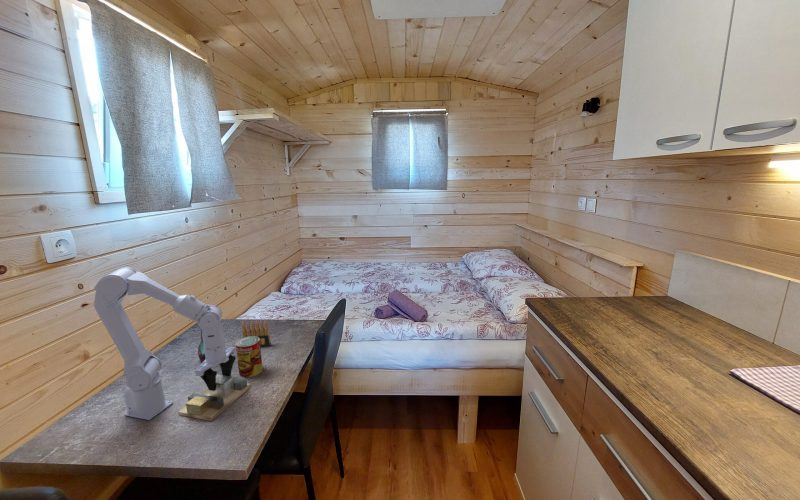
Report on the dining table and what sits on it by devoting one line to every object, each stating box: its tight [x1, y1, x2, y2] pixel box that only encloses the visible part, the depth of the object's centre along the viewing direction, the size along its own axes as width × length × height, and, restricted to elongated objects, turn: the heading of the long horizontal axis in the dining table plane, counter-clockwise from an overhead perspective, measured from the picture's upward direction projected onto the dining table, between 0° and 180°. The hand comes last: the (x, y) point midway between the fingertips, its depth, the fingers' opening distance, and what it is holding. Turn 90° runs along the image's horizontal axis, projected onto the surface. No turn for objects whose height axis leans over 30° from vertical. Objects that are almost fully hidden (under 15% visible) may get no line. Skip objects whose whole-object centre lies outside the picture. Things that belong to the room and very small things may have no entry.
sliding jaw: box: [185, 393, 224, 416], centre depth 100 cm, size 11×6×3 cm, turn 76°
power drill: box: [197, 328, 206, 364], centre depth 128 cm, size 7×16×20 cm, turn 41°
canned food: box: [235, 336, 263, 379], centre depth 121 cm, size 8×8×12 cm
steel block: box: [209, 374, 234, 398], centre depth 108 cm, size 4×6×5 cm, turn 76°
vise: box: [177, 376, 252, 422], centre depth 106 cm, size 12×17×4 cm
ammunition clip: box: [241, 318, 272, 348], centre depth 139 cm, size 11×2×12 cm, turn 98°
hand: (219, 384), depth 108 cm, fingers open, 6 cm apart
